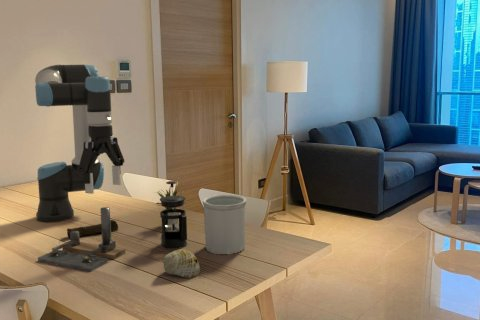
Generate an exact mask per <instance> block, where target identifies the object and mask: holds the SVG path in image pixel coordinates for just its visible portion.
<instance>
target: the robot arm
mask: <svg viewBox="0 0 480 320" xmlns="http://www.w3.org/2000/svg"><path fill="white" fill-rule="evenodd" d="M34 79H35V81H34V82H35V85H34V86H35V87H34V89H35V100H36V105H37V106H38V107H46V108H47V107H49V108H50V107H60V106H61V107H63V106H67V107H68V106H72V123H73V125H72V126H73V140H74V141H73V142H74V158H72V159H71V164H68V165H67V162H65V161H56V162H51V163H46V164H43V165H41V166H39V167H38V168H37V181H38V183H37V184H38V197H39V203H38V206H37V212H36V213H35V218H36V221H38V222H42V223H55V222H62V221H66V220H69V219H71V218H73V217H74V215H75V210H74V209H73V206H72V203H71V201H70V198H69V193H75V192H85V194H90V195H92V194H93V195H94V194H95V190H99V189H101V188H102V186H103V184H104V177H105V171H104V170H105V167H104V163H103V162H100V161H101V159H100V158H99V156H101V155H102V154H104V153H105V155H106V156H107V157H108V158H109V161H111V163H112V164H113V165H111V172H112V175H111V176H112V185H115V186H116V185H117V186H121V184H122V183H121V182H122V181H121V171H122V170H121V166H123V165H124V163H125V159H124V156H123V153H122V151H121V148H120V145H119V143H118V138H117V137H114V136H113V135H114V134H113V125H112V122H113V118H112V101H111V99H112V97H111V88H112V86H111V83H110V82H111V81H110V78H109V77H108V76H100V74H99V70H98V68H97V67H96V66H95V65H92V64H53V65H50V66H47V67H45V68H43V69H40V71H39V72H37V74H36V76H35V78H34Z"/></svg>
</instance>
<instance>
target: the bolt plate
mask: <svg viewBox="0 0 480 320" xmlns="http://www.w3.org/2000/svg"><path fill="white" fill-rule="evenodd" d="M37 262H41V263H46V264H51V265H57V266H61V267H65V268H66V267H67V268H71V269H77V270H80V271H87V272H93V271H95V270H97V269H98V268H101V267H103V266H104V265H106V264H108V263H109V258H103V257H98V256H89V259H87V260H86V259H85V254H81V253H75V252H70V251H64V250H61V249H59V250H56V252H55V253H54V254H53V253H52V251H50V252H48V253H46V254H44V255H41V256H39V257H37Z"/></svg>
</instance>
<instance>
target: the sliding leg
mask: <svg viewBox="0 0 480 320" xmlns="http://www.w3.org/2000/svg"><path fill="white" fill-rule="evenodd" d="M110 220H111V208H110V207H109V206H106V207H105V206H104V207H100V224H101V227H102V232H101V238H102V239H101V241H102V242H101V243H99V244H98V245H99V248H97V249H95V250H93V251H91V252H89V253H87V254H84V255H85V259H86V260H87V259H89V256H92V255H94V254H96V253H98V252H100V251H102V252H108V251H110V250H112V249H114V248H117V247H116V245H117V244H116V241H115V240H112V232H111V221H110Z"/></svg>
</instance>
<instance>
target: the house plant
mask: <svg viewBox="0 0 480 320" xmlns="http://www.w3.org/2000/svg"><path fill="white" fill-rule="evenodd" d="M171 189H172V187H171V185H170V186H169V188H168V190H167V189H165V191H166V193H165V192H164V191H163V190H162V189H161V190H157V191H156V192H154V193H156V194H157V195H159V197H160V198H162V197H166V196H171V195H172V190H171ZM179 189H180V187H177V188H176V189H175V190H173V196H181V195H182V193H184V192H185V190H183V191H182V192H180V193H178V191H179ZM161 191H162V192H163V193H164V194H163V193H162V192H161ZM185 200H187V198H186V197H185ZM155 205H157V207H159V206H161V202H156V203H155ZM184 205H185V206H186V205H187V204H186V202H184ZM164 208H165V209H162V210H161V211H163V210H167V209H172V208H168V207H164ZM173 209H177V207H173ZM163 215H164V214H163ZM168 215H169V216H173V213H168ZM174 215H180V213H178V212H174ZM168 224H173V219H168ZM174 224H179V219H174Z"/></svg>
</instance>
